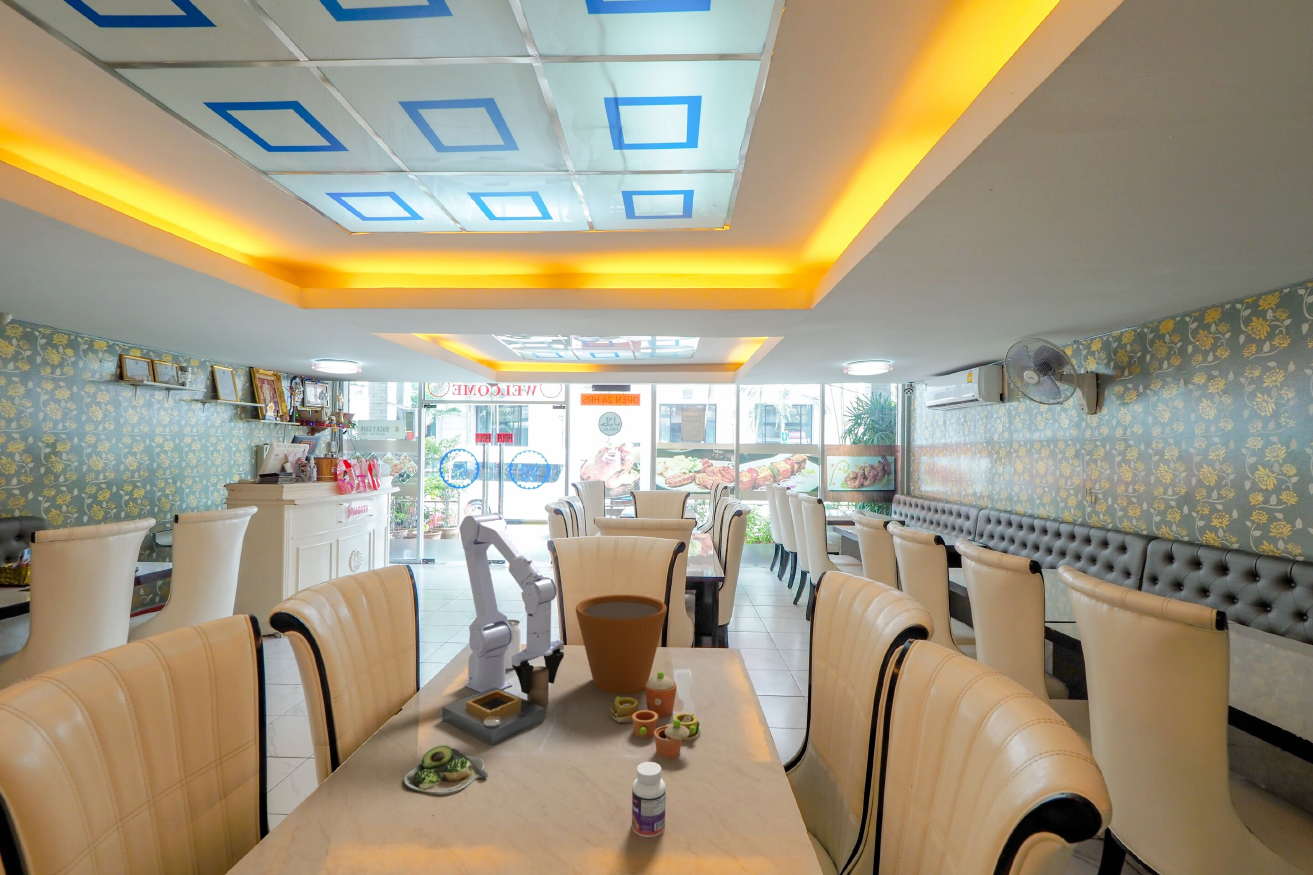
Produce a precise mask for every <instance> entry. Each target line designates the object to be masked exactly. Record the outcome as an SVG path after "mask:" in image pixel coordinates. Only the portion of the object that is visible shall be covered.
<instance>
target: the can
mask: <svg viewBox="0 0 1313 875" xmlns="http://www.w3.org/2000/svg"><path fill="white" fill-rule="evenodd" d="M507 620H508V623H509V625H510V627H511V629H512V632H513V639H512V642H511V643H510V644H509V645H508V650H506V657H505V670H514V668H513V667H512V656H514V655H516V654H518V653H519V652H521V651H522V627H521V624H520V620H519V619H507Z"/></svg>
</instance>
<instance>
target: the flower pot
mask: <svg viewBox="0 0 1313 875" xmlns="http://www.w3.org/2000/svg"><path fill="white" fill-rule="evenodd" d="M667 609H668V607H667V605H666V603H665V602H663V601H662V600H660V599H658V598H654V597H650V596H645V595H636V594H607V595H600V596H594V597H589V598H586V599H584V600H582V601H580V602H579V603H577V605H576V607H575V613H576V618H577V621H578V622H577V623H578V625H579V629H580V633H581V637H582V641H583V645H584V649H585V654H586V658H587V661H588V665H589V669H590V672H591V677H592V681H593V682H592V683H593V685H594V686H595V687H596V688H597V689H598V688H599V689H598V690H600V689H601V690H600V691H602V690H603V692H605V693H610V694H615V693H616V695H617V694H618V695H630V694H635V693H639V692H642V691H643V690H645V683H646V682H647V681H649V680H650V677H651V676H650V675H651V673H652V668H653V665H654V660H655V656H656V654H657V649H658V645H659V642H660V637H661V633H662V630H663V626H664V624H665V618H666V615H667V611H668V610H667Z"/></svg>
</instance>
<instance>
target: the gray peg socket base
mask: <svg viewBox="0 0 1313 875" xmlns="http://www.w3.org/2000/svg"><path fill="white" fill-rule="evenodd" d="M441 713H442V718H441V720H442V722H445V723H447V724H448V725H450V726H453V727H454V728H455V729H458V730H460V731H463V733H466V734H468V735H469V736H472V737H474V738H476V739H477V740H480V741H481V742H484V743H486V744H487V743H488V745H489V746H491V745H492V747H493V746H495V745H497V744H499V743H501V742H503V741H505V740H508V739H509V738H511V737H513V736H516V735H518V734H520V733H522V732H524V731H526V730H528V729H531V728H532V727H534V726H537V725H539V724H542V723H543V722H545V707H541V706H539V705H536V704H534V703H532V702H529V701H527V699H525V698H522V697H519V696H517V695H515V694H512V693H511V692H508V691H505V690H504V689H503V690H501V689H498V688H496V687H493V688H490V689H488V690H485V691H483V692H478V693H475V694H473V695H472V694H471V695H470V696H467V697H464V698H462V699H460V700H457V701H454V702H451V703H449V704H447V705H444V706H442V712H441Z"/></svg>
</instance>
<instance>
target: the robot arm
mask: <svg viewBox="0 0 1313 875" xmlns="http://www.w3.org/2000/svg"><path fill="white" fill-rule="evenodd" d="M458 529H459V534H460V538H461V544H462V549H463V552H464V556H465V557H464V558H465V561H466V562H465V563H466V567H467V571H468V577H469V583H470V587H471V592H472V598H473V603H474V604H473V605H474V609H475V614H476V615H475V616H476V617H475V619H474V620H473V621H472V622H470V623H471V624H470V625H469V626H468V629H469V638H468V639H469V640H468V643H469V647H470V649H471V651H472V652H471V654H470V655H469V658H468V661H467V662H468V664H467V665H468V667H467V668H468V669H467V683H464V686H465V687H467V688H468V689H471V690H473V691H475V692H478V693H480V692H483V691H485V690H488V689H490V688H493V687H496V688H498V689H501V690H503V691H504V690H505V689H508V688H510V687H512V686H513V683H512V682H509V681H507V680H506V669H505V657H506V650H508V645H509V644H510V643H511V642H512V639H513V632H512V629H511V627H510V625H509V623H508V620H509V619H508V616H507V615H506V614H504V613H502V612H501V611H499V608H498V604H497V597H496V594H495V589H494V584H493V579H492V574H491V568H490V563H489V559H488V553H487V551H488V549H489V548H490V546H492V545H493V546H494V547H495V548H496V549H497V551H498V552H499V553H500V554H501V555H502V557H503V558H504V559H505V560H506V562H508V564H509V565H508V572H509V573H510V575H511V576H512V578H513V579H514V580H515V581H516V583H517V584H518V586H519V588H521V590H522V592H521V599H522V601H523V603H524V610H525V613H526V648H524V649H521V652H519V653H518V654H516V655H514V656H512V667H513V668H514V669H513V670H514V672H515V674H516V676H517V678H518V682H519V686H520V690H521V693H523V694H526V695H527V694H529V693H530V684H531V675H532V671H533V668H534V667H535V666H534V665H532V664H530V661H532V660H534V659H537V658H541V657H543V660H544V667H547V668H548V669H549V683H550V684H554V683H555V680H556V676H557V673H558V670H559V667H560V665H561V663H562V660H564V657H565V653H564V652H563V650H564V648H565V647H564V642H565V641H562V640H554V641H552V639H551V638H552V601H554V599H556V597H557V587H556V583H555V581H554V579H553V578H551V577H549V576H546V575H545V574H542V573H541V572H540V570H539V569H538V568H537V566H536V565H535V564H534V562H533V560H532V558H531V557H530V556H528V555H522V554H521V552H520V551H519V549H518V547H517V546H516V544H515V543H514V541H513V540H512V538H511V536H510V535H509V533H508V531H507V522H506V521H505V520H504V517H503V516H502V515H501V514H500V513H499V512H493V513H487V514H486V513H485V514H478V515H477V514H476V515H466V516H465V517H464V518H463V519H462V522H461V524H460V526H459V528H458ZM488 625H489V626H488Z"/></svg>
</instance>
